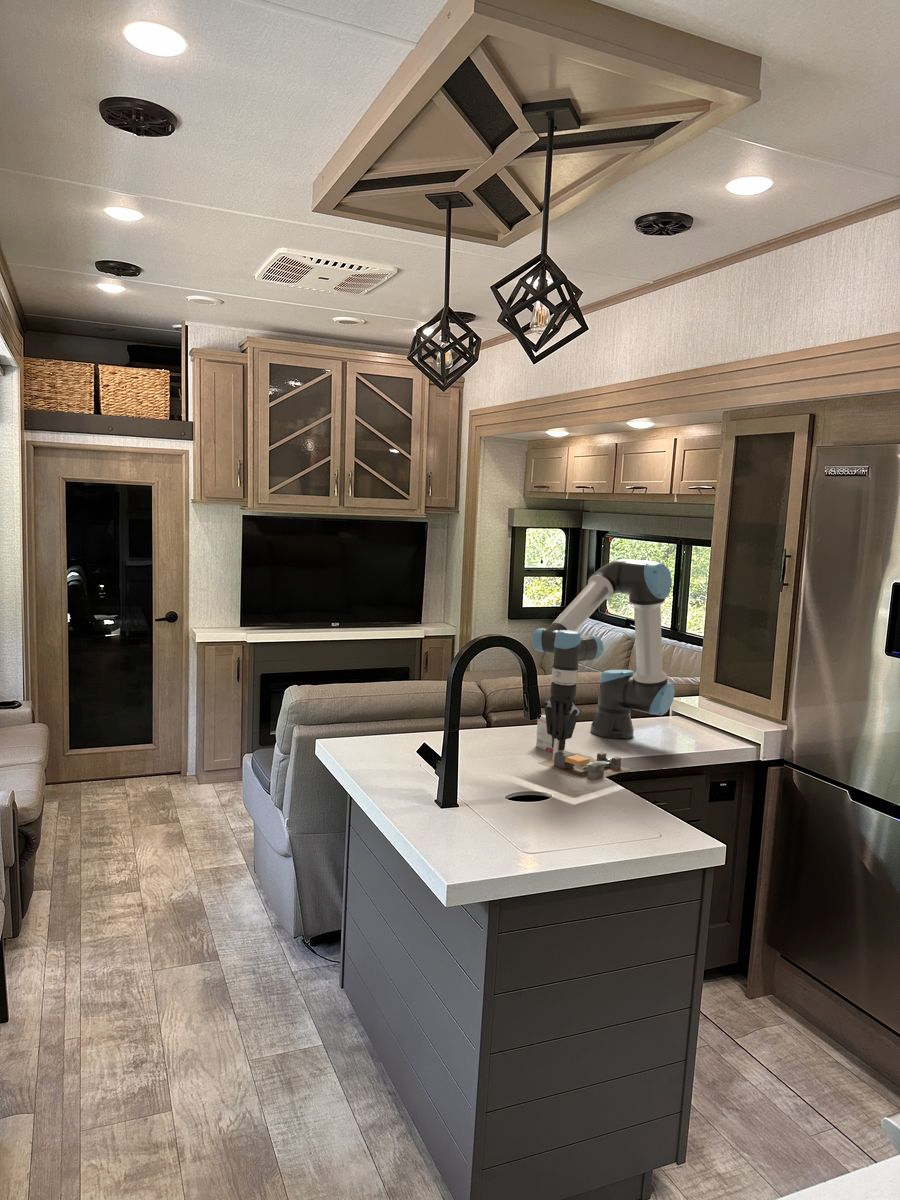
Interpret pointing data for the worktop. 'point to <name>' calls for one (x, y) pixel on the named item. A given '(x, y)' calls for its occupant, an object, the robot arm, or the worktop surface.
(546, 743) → the ink box
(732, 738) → the worktop surface
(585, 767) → the strap
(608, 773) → the board
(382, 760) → the worktop surface
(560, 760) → the latch
